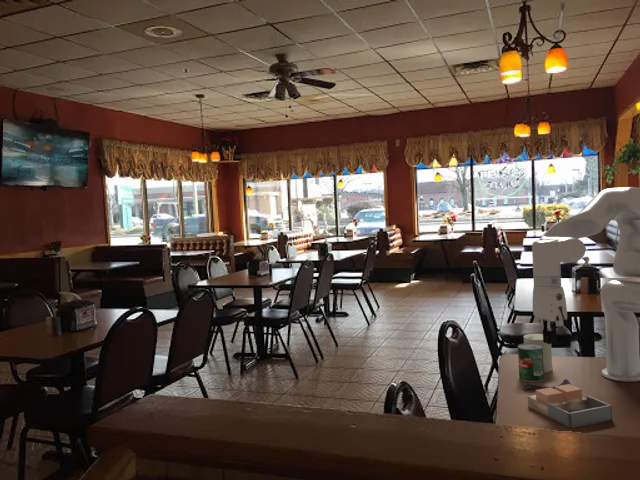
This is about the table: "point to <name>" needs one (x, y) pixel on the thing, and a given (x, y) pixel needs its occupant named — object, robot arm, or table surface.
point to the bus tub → (582, 414)
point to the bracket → (537, 387)
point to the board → (557, 404)
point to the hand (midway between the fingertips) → (550, 342)
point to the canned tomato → (531, 362)
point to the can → (546, 349)
